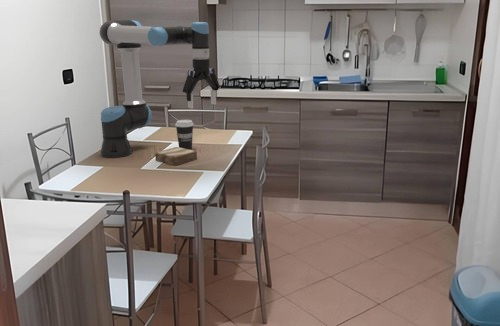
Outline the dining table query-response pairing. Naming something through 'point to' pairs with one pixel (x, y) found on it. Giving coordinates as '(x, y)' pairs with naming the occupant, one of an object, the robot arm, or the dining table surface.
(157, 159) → the pedestal
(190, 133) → the coffee cup
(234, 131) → the dining table surface
